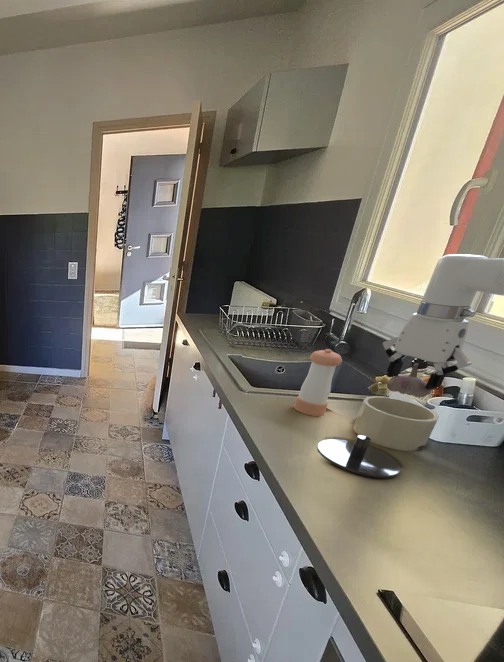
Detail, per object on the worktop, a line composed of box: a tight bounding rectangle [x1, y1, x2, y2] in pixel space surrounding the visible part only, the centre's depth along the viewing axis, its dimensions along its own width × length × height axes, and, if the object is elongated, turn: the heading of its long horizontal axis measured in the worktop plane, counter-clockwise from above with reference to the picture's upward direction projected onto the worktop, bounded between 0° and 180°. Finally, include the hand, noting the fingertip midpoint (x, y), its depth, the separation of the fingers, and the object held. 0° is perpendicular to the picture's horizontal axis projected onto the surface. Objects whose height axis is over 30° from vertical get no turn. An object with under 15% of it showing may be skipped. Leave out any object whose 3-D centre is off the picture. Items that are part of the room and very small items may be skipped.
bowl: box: [352, 395, 440, 452], centre depth 98 cm, size 14×14×8 cm
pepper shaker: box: [293, 348, 343, 417], centre depth 110 cm, size 7×7×19 cm
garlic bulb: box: [386, 362, 433, 398], centre depth 94 cm, size 8×7×8 cm
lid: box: [316, 434, 401, 479], centre depth 90 cm, size 15×15×6 cm
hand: (410, 381), depth 94 cm, fingers closed on garlic bulb, 7 cm apart
